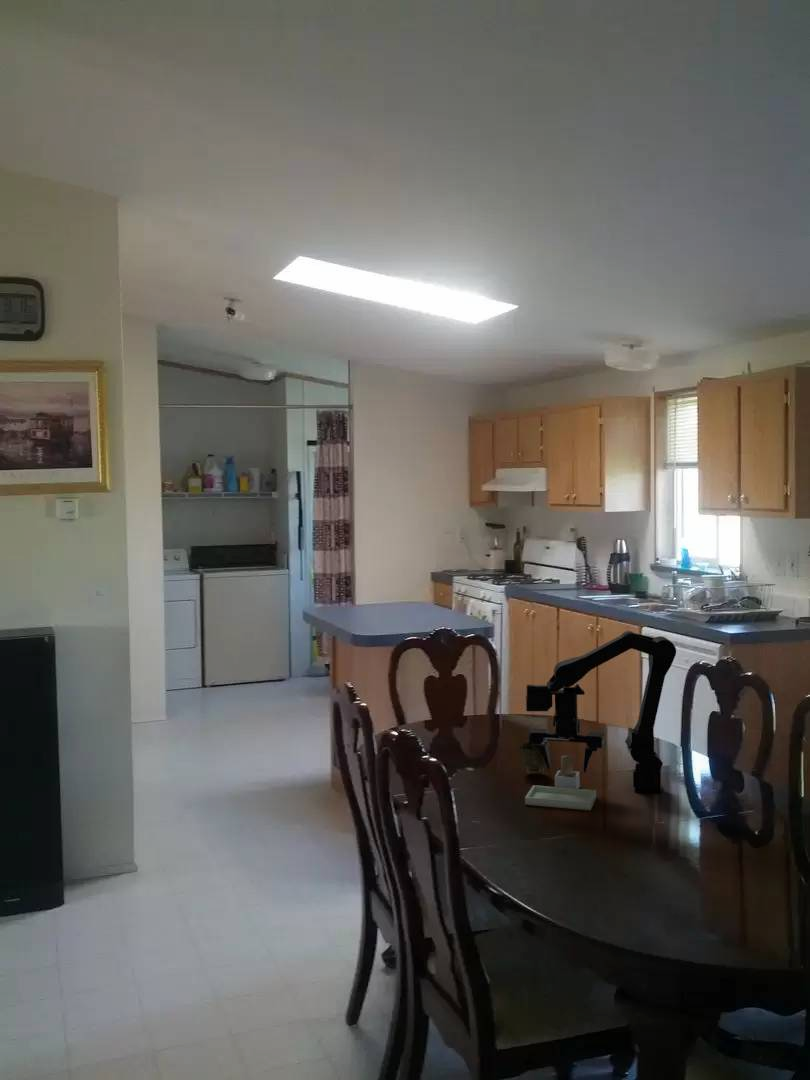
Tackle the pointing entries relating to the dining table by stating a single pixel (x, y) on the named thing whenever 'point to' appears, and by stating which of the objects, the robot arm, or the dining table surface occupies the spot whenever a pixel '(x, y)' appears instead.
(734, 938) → the dining table surface
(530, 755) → the cup
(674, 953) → the dining table surface
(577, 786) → the grey square sleeve
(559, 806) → the tray
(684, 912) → the dining table surface
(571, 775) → the dowel
